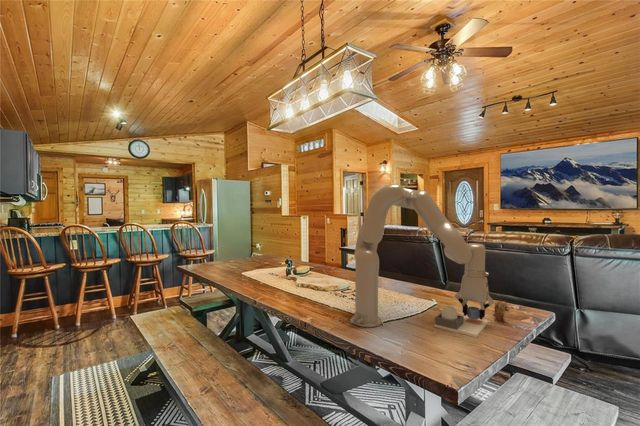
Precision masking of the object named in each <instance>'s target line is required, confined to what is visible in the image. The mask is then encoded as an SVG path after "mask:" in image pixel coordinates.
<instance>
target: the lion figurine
mask: <svg viewBox="0 0 640 426" xmlns="http://www.w3.org/2000/svg"><path fill="white" fill-rule="evenodd" d="M510 310H511V307H510V306H509V305H507V302H506V301H502V300H496V301H495V302H494V312H493V314H492V315H493V316H494V317H495V318H494V321H496V322H498V320H499V317H498V316H499V315H500V316H501V317H500V321H502V322H505V319H504V318H505V314H506V313H509V311H510Z"/></svg>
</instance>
